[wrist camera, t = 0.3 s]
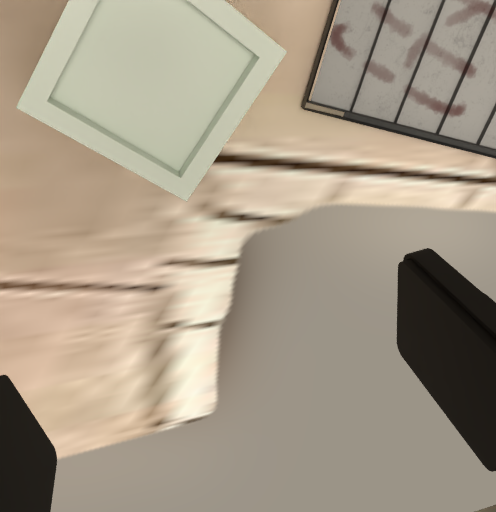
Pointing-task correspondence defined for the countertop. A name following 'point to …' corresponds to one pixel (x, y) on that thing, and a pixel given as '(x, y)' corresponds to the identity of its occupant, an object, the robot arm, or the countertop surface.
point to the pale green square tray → (151, 82)
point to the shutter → (412, 69)
